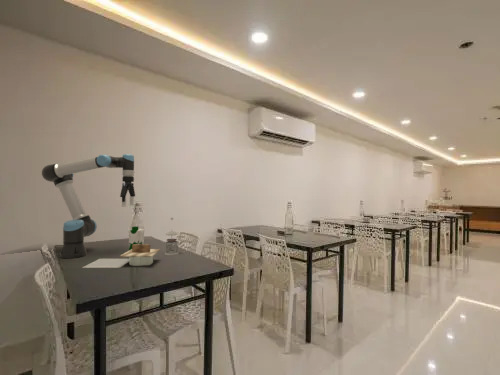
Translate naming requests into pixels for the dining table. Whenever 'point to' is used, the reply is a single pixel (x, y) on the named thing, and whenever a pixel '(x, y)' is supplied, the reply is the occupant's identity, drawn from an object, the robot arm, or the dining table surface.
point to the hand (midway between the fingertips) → (127, 206)
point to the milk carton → (136, 236)
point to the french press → (172, 244)
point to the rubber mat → (107, 263)
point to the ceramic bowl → (140, 261)
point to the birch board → (152, 252)
